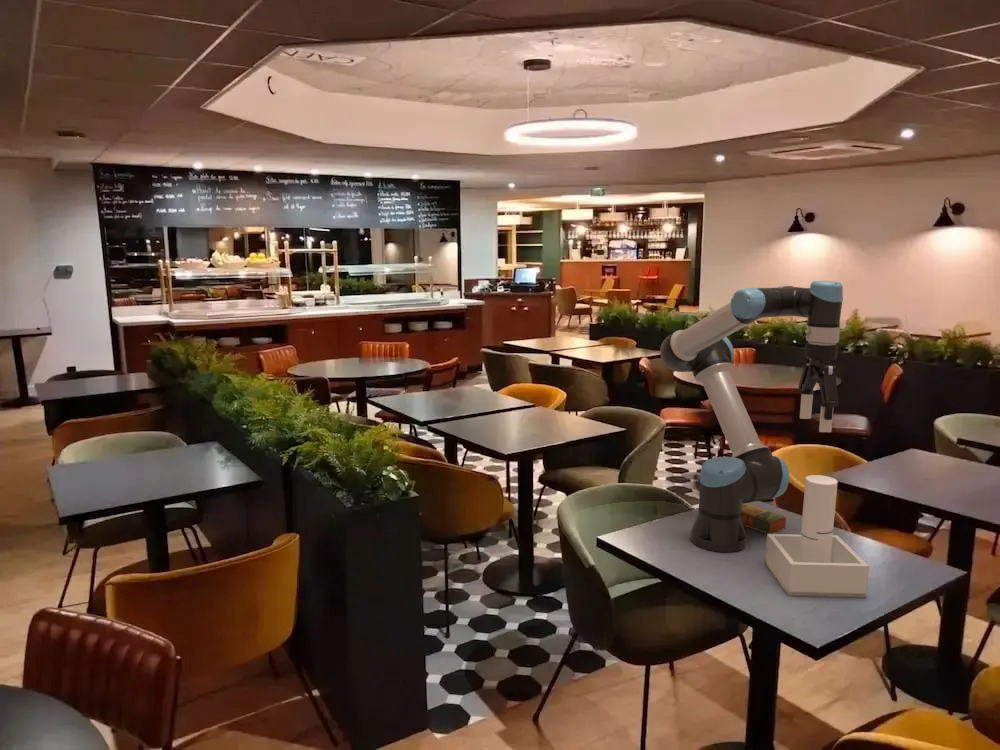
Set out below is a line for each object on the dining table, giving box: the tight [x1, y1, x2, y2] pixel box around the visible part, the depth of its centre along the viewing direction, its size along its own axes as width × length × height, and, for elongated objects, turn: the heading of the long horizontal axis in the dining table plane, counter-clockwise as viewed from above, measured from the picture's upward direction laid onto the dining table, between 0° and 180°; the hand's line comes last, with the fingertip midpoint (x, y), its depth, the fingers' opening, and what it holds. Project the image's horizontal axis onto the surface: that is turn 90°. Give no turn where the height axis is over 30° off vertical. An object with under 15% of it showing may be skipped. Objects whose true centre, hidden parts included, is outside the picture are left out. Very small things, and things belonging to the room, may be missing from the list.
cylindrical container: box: [799, 474, 838, 563], centre depth 178 cm, size 7×7×25 cm
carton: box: [742, 503, 787, 535], centre depth 216 cm, size 8×16×4 cm, turn 37°
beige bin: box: [764, 533, 870, 599], centre depth 179 cm, size 18×18×8 cm
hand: (814, 425), depth 185 cm, fingers open, 13 cm apart
